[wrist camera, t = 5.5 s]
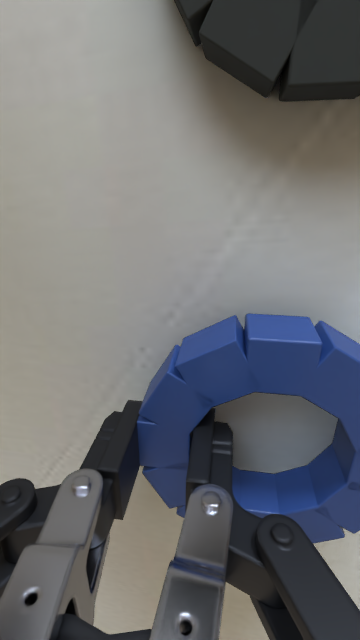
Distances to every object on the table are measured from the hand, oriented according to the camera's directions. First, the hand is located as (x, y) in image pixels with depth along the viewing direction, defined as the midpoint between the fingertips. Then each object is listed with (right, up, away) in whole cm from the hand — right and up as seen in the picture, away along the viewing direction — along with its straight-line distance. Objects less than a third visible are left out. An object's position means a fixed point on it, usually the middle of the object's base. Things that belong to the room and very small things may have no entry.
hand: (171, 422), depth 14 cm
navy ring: (+4, 0, 0) cm, 4 cm away
